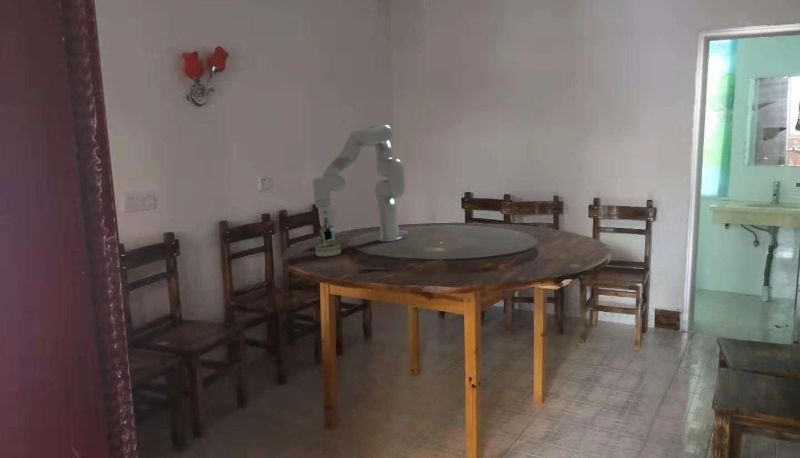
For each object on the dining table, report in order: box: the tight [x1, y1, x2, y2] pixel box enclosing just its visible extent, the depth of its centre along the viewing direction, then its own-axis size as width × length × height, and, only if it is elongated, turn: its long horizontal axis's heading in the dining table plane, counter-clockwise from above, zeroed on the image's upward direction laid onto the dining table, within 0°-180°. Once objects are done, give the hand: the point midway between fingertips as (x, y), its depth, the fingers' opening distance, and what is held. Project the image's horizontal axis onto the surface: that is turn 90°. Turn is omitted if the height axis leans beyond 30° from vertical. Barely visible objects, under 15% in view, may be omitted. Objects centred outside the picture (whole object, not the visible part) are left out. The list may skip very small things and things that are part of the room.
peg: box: [320, 225, 332, 247], centre depth 307 cm, size 4×4×14 cm
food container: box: [319, 225, 336, 245], centre depth 328 cm, size 12×6×10 cm, turn 168°
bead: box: [314, 242, 342, 257], centre depth 308 cm, size 12×12×4 cm
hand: (327, 237), depth 307 cm, fingers open, 9 cm apart
